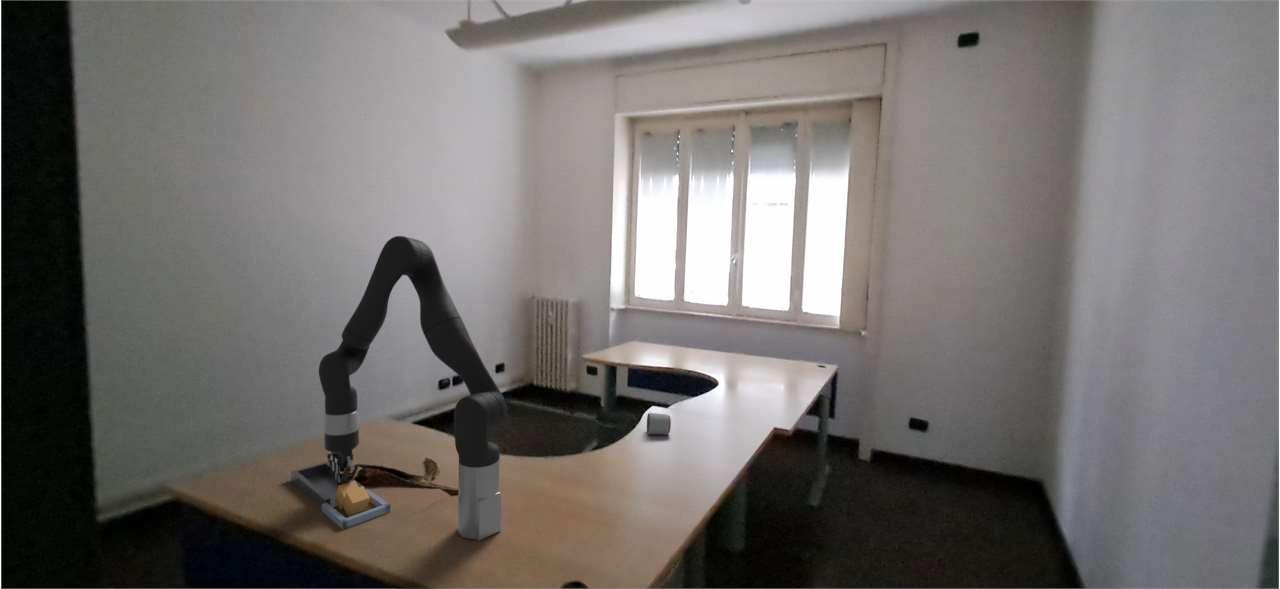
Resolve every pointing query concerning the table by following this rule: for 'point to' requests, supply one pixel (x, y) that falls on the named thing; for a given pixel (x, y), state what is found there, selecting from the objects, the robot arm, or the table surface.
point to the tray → (343, 522)
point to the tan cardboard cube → (344, 492)
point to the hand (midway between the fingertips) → (342, 494)
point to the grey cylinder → (658, 423)
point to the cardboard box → (356, 501)
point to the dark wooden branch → (400, 477)
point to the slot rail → (318, 483)
